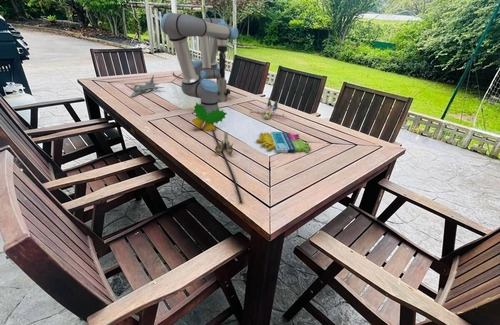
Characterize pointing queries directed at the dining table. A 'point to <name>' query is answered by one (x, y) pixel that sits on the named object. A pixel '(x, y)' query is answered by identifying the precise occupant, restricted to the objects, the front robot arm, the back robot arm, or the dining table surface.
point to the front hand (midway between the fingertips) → (222, 77)
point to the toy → (269, 111)
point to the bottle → (221, 89)
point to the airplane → (145, 87)
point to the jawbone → (224, 145)
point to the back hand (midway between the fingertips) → (222, 94)
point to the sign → (283, 142)
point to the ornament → (207, 117)
